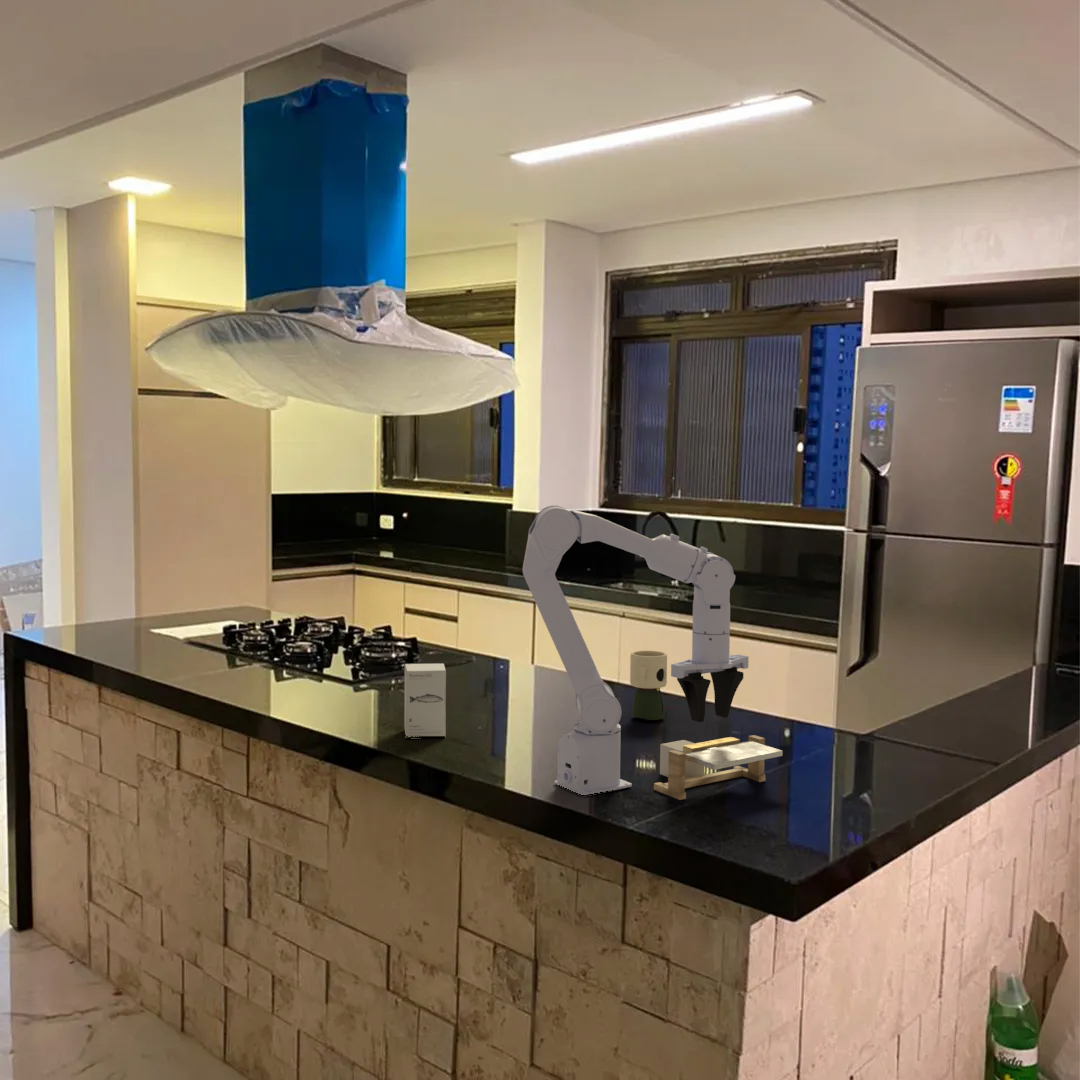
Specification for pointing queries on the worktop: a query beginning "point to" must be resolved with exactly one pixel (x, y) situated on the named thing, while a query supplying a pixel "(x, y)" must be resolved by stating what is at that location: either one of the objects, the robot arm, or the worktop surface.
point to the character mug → (648, 683)
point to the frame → (679, 782)
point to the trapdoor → (728, 752)
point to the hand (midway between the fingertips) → (709, 718)
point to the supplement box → (425, 700)
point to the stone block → (690, 767)
